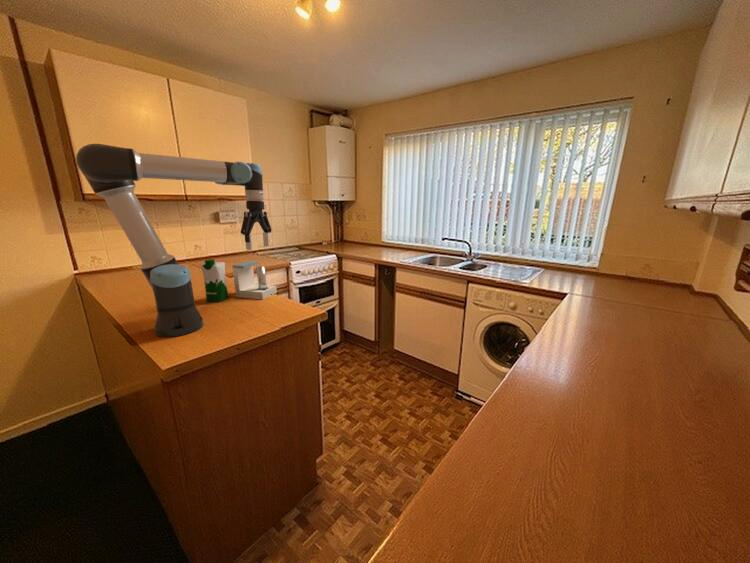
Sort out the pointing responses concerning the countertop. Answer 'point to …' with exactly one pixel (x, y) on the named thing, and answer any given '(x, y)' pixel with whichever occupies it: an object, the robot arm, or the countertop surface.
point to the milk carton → (214, 280)
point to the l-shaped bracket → (249, 282)
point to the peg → (261, 278)
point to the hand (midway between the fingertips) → (258, 248)
